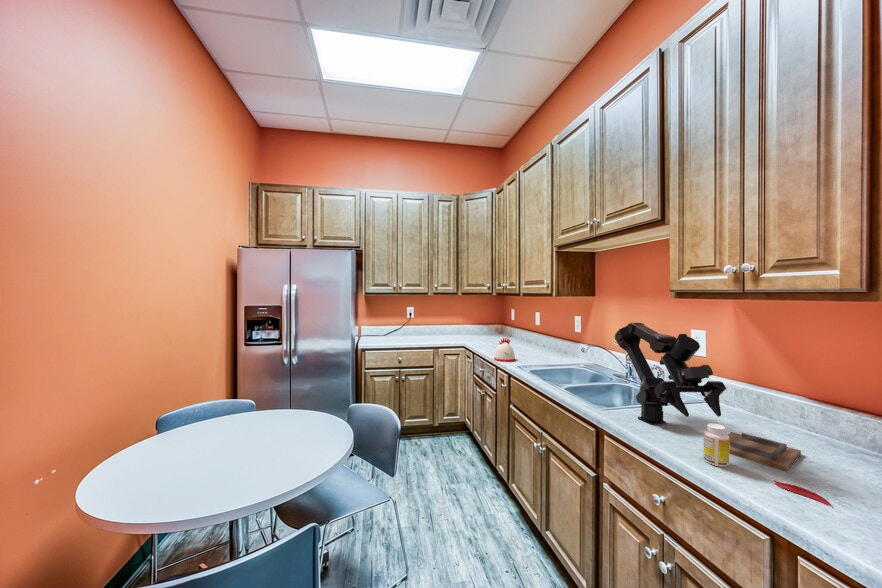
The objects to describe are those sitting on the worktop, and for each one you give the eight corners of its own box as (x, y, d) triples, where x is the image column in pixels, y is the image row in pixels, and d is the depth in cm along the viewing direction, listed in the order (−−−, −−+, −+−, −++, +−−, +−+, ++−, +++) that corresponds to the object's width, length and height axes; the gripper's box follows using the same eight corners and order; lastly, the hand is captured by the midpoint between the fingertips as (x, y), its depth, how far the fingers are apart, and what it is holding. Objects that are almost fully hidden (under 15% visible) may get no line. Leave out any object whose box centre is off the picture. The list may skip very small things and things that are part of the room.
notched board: (712, 448, 105) (712, 439, 104) (731, 435, 114) (731, 427, 114) (786, 471, 91) (786, 461, 91) (800, 454, 100) (800, 445, 100)
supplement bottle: (729, 462, 96) (730, 425, 96) (728, 470, 92) (728, 431, 92) (704, 455, 100) (705, 420, 100) (702, 463, 96) (702, 426, 96)
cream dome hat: (518, 361, 229) (518, 338, 229) (499, 362, 226) (499, 339, 226) (509, 357, 243) (509, 335, 243) (491, 358, 239) (491, 336, 239)
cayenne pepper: (764, 481, 87) (764, 474, 87) (781, 480, 88) (781, 472, 88) (821, 512, 76) (821, 503, 76) (840, 510, 76) (840, 501, 76)
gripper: (660, 355, 106) (685, 402, 95) (721, 354, 106) (754, 402, 95) (645, 374, 114) (666, 420, 103) (702, 374, 114) (729, 420, 103)
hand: (703, 416), depth 101 cm, fingers open, 9 cm apart
